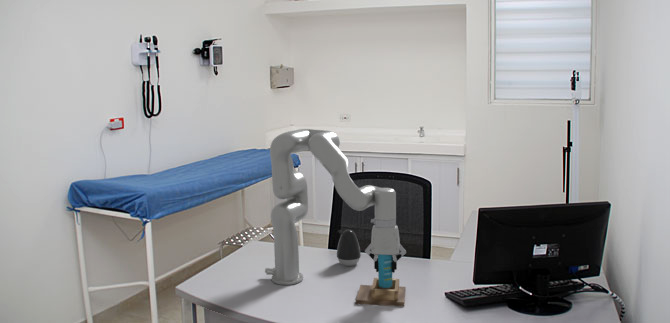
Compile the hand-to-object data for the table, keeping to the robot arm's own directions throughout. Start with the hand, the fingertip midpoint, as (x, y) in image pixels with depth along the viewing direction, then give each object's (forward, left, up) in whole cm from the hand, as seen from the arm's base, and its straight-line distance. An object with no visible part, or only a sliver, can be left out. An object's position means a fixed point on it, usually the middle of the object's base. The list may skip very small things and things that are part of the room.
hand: (385, 270), depth 201 cm
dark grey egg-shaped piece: (-18, +33, -10) cm, 39 cm away
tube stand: (-2, 0, -10) cm, 10 cm away
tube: (0, 0, -6) cm, 6 cm away
